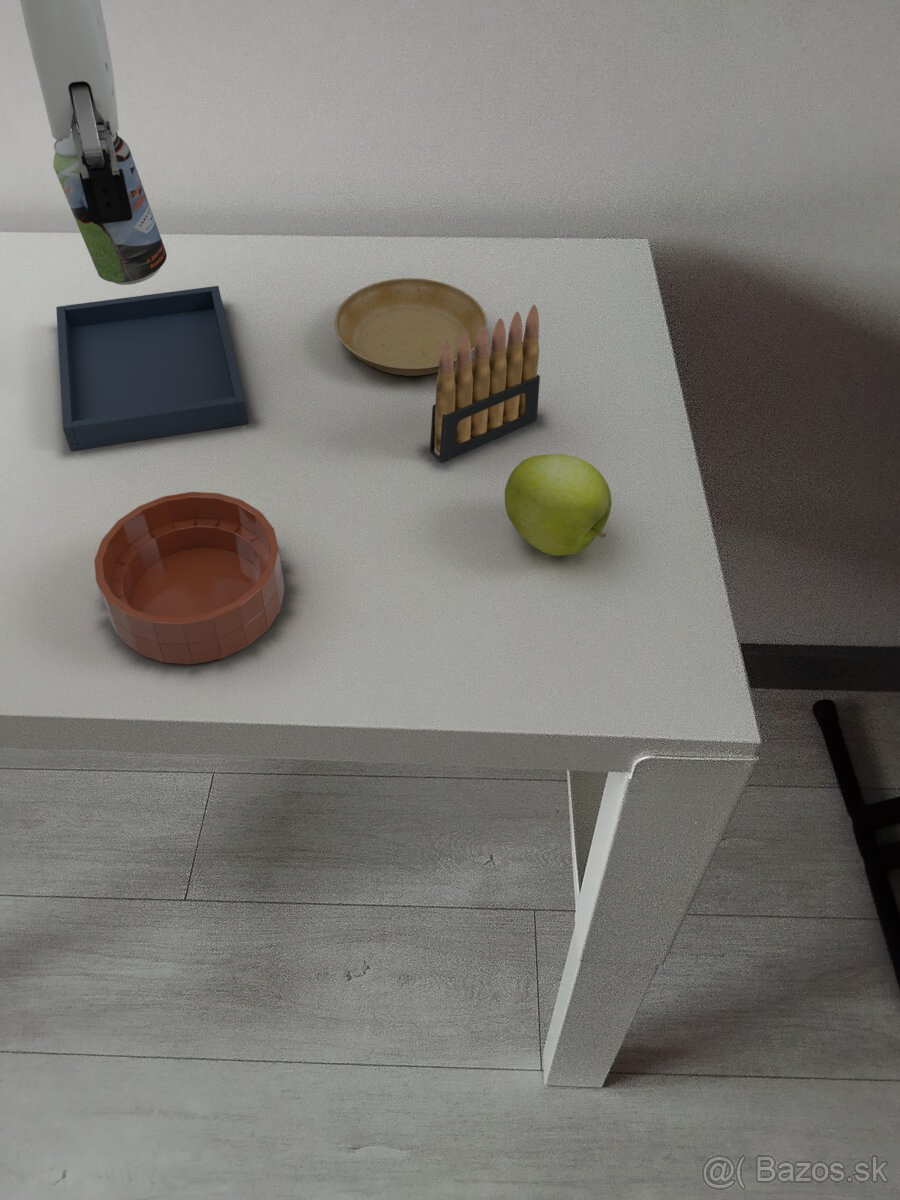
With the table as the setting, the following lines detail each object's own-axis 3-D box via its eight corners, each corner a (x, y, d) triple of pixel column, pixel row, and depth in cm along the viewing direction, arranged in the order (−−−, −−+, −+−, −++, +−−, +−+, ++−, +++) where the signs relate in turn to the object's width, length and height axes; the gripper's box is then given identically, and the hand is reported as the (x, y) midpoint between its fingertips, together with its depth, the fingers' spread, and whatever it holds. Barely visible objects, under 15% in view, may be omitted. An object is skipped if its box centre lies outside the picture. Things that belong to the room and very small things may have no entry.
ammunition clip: (525, 409, 96) (536, 296, 87) (537, 420, 95) (550, 307, 86) (429, 451, 92) (430, 337, 83) (440, 463, 91) (443, 349, 82)
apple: (577, 595, 82) (590, 523, 75) (483, 543, 85) (488, 470, 79) (628, 538, 86) (644, 466, 80) (536, 491, 89) (545, 418, 83)
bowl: (116, 682, 75) (100, 639, 71) (105, 553, 83) (90, 508, 79) (297, 646, 78) (291, 603, 74) (269, 524, 86) (262, 479, 82)
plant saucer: (517, 343, 103) (519, 321, 101) (411, 411, 96) (411, 388, 94) (411, 283, 109) (410, 261, 107) (304, 342, 102) (302, 319, 100)
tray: (70, 451, 91) (62, 428, 89) (63, 329, 103) (56, 306, 101) (248, 423, 94) (245, 400, 92) (222, 307, 106) (218, 285, 104)
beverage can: (161, 295, 88) (133, 157, 79) (74, 291, 88) (35, 153, 79) (176, 254, 92) (150, 119, 83) (93, 251, 92) (58, 114, 83)
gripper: (-6, -86, 76) (59, 154, 90) (-8, 3, 65) (66, 261, 79) (100, -93, 77) (147, 145, 91) (115, -6, 67) (166, 249, 80)
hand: (109, 197), depth 85 cm, fingers closed on beverage can, 6 cm apart
